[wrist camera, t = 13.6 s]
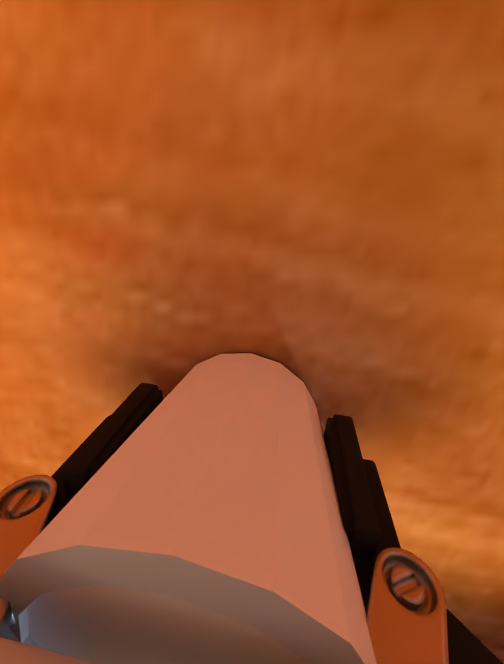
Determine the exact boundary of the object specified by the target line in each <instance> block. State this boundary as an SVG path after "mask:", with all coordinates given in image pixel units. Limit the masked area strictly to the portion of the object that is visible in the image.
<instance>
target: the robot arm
mask: <svg viewBox="0 0 504 664" xmlns="http://www.w3.org/2000/svg"><path fill="white" fill-rule="evenodd" d="M162 401H163V393H162V390H159V388H158V386H157V385H153V384H147V383H141V384H139V386H138V387H137V388H136V389H135V390H134V391H133V392H132V393H131V394H130V395H129V396H128V397H127V399H126V400H125V401H124V402H123V403H122V404H121V405H120V406H119V407H118V408H117V409H116V410H115V412H114V413H113V414H112V415H110V416H108V417H107V418H106V419H105V420H104V421H103V422H102V423H101V424H100V425H99V426H98V427H97V428H96V429H95V430H94V431H93V432H92V434H91V435H90V436H89V437H88V438H87V439H86V440H85V441H84V442H83V443H82V444H81V445H80V446H79V447H78V449H77V450H76V451H75V452H74V453H73V454H72V455H71V456H70V457H69V458H68V459H67V460H66V461H65V462H64V463H63V465H62V466H61V467H60V468H59V469H58V470H57V471H56V472H55V473H54V474H53V475H52V476H51V477H50V476H47V475H33V476H29V477H25V478H23V479H20V480H18V481H16V482H14V483H12V484H11V485H9V486H7V487H6V488H5V489H4V490H2V491H1V492H0V578H1V577H2V576H3V575H4V573H5V572H6V571H7V570H8V569H9V567H10V566H11V565H12V564H13V563H14V561H15V560H16V559H17V558H18V557H19V556H20V555H21V554H22V553H23V551H24V550H25V549H26V548H27V547H28V546H29V545H30V544H31V543H32V542H33V541H34V540H35V538H36V537H37V536H38V535H39V534H40V533H41V532H42V531H43V530H44V529H45V528H46V527H47V525H48V524H49V523H50V522H51V521H52V520H53V519H54V518H55V517H56V516H57V515H58V514H59V512H60V511H61V510H62V509H63V508H64V507H65V506H66V505H67V504H68V503H69V502H70V501H71V499H72V498H73V497H74V496H75V495H76V494H77V493H78V492H79V491H80V490H81V489H82V488H83V486H84V485H85V484H86V483H87V482H88V481H89V480H90V479H91V478H92V477H93V476H94V475H95V473H96V472H97V471H98V470H99V469H100V468H101V467H102V466H103V465H104V464H105V463H106V462H107V460H108V459H109V458H110V457H111V456H112V455H113V454H114V453H115V452H116V451H117V450H118V449H119V447H120V446H121V445H122V444H123V443H124V442H125V441H126V440H127V439H128V438H129V437H130V436H131V434H132V433H133V432H134V431H135V430H136V429H137V428H138V427H139V426H140V425H141V424H142V423H143V421H144V420H145V419H146V418H147V417H148V416H149V415H150V414H151V413H152V412H153V411H154V410H155V408H156V407H157V406H158V405H159V404H160V403H161V402H162ZM323 437H324V441H325V445H326V449H327V453H328V457H329V462H330V466H331V470H332V474H333V478H334V482H335V487H336V492H337V497H338V502H339V507H340V512H341V517H342V522H343V528H344V530H345V532H346V534H347V537H348V541H349V545H350V549H351V553H352V558H353V562H354V566H355V570H356V574H357V578H358V583H359V587H360V591H361V595H362V599H363V603H364V608H365V612H366V622H367V626H368V630H369V635H370V639H371V643H372V647H373V651H374V655H375V659H376V663H377V664H503V663H502V662H501V661H500V660H499V659H498V658H497V657H496V656H495V655H494V654H493V653H492V652H491V651H490V650H489V649H488V648H486V647H485V646H484V645H483V644H482V643H481V642H480V641H479V640H478V639H477V638H476V637H475V636H474V635H473V634H472V633H471V632H470V631H469V630H468V629H467V628H466V627H465V626H464V625H463V624H462V623H461V622H460V621H459V620H458V619H457V618H456V617H455V616H454V615H453V614H452V613H451V612H450V611H449V610H448V609H447V608H446V601H445V596H444V591H443V589H442V587H441V585H440V583H439V580H438V579H437V577H436V576H435V574H434V573H433V572H432V570H431V569H430V568H429V567H428V566H427V565H426V564H425V563H424V562H423V561H422V560H421V559H420V558H418V557H417V556H415V555H414V554H412V553H411V552H409V551H406V550H404V549H401V547H400V544H399V541H398V537H397V534H396V531H395V527H394V524H393V521H392V517H391V514H390V511H389V508H388V504H387V501H386V498H385V494H384V491H383V488H382V484H381V481H380V478H379V474H378V471H377V468H376V465H375V463H374V462H373V461H371V460H365V459H362V455H361V451H360V447H359V443H358V439H357V435H356V431H355V427H354V423H353V420H352V417H349V416H343V415H337V414H335V415H334V416H333V418H328V419H327V423H326V427H325V431H324V436H323ZM15 621H16V620H15V617H14V615H13V612H12V609H11V606H10V601H8V600H6V599H5V598H3V597H2V596H0V664H98V663H94V662H91V661H87V660H84V659H80V658H76V657H72V656H69V655H65V654H61V653H58V652H54V651H50V650H47V649H43V648H39V647H35V646H32V645H28V644H24V643H21V642H19V641H18V639H17V637H16V635H15V633H14V631H13V629H12V627H11V625H12V624H15Z"/></svg>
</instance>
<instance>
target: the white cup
mask: <svg viewBox="0 0 504 664" xmlns="http://www.w3.org/2000/svg"><path fill="white" fill-rule="evenodd" d="M0 596H2V597H3V598H5V599H6V600H8V601H10V606H11V609H12V612H13V615H14V617H15V620H16V621H15V624H12V625H11V627H12V629H13V631H14V633H15V635H16V637H17V639H18V641H19V642H21V643H24V644H28V645H32V646H35V647H39V648H43V649H47V650H50V651H54V652H58V653H61V654H65V655H69V656H72V657H76V658H80V659H84V660H87V661H91V662H94V663H98V664H377V663H376V659H375V655H374V651H373V647H372V643H371V639H370V635H369V630H368V626H367V622H366V612H365V608H364V603H363V599H362V595H361V591H360V587H359V583H358V578H357V574H356V570H355V566H354V562H353V558H352V553H351V549H350V545H349V541H348V537H347V534H346V532H345V530H344V528H343V522H342V517H341V512H340V507H339V502H338V497H337V492H336V487H335V482H334V478H333V474H332V470H331V466H330V462H329V457H328V453H327V449H326V445H325V441H324V437H323V432H322V428H321V424H320V420H319V416H318V412H317V407H316V405H315V403H314V401H313V399H312V397H311V395H310V393H309V391H308V389H307V388H306V386H305V384H304V382H303V381H302V380H300V379H299V378H298V377H297V376H295V375H294V374H293V373H292V372H291V371H289V370H288V369H287V368H286V367H284V366H283V365H282V364H281V363H278V362H275V361H272V360H269V359H266V358H264V357H261V356H258V355H255V354H252V353H237V354H219V355H217V356H215V357H212V358H210V359H208V360H205V361H203V362H201V363H198V364H196V365H195V366H194V367H193V368H192V370H191V371H190V372H189V373H188V374H187V375H186V376H185V377H184V378H183V379H182V380H181V381H180V383H179V384H178V385H177V386H176V387H175V388H174V389H173V390H172V391H171V392H170V393H169V394H168V395H167V397H166V398H165V399H164V400H163V401H162V402H161V403H160V404H159V405H158V406H157V407H156V408H155V410H154V411H153V412H152V413H151V414H150V415H149V416H148V417H147V418H146V419H145V420H144V421H143V423H142V424H141V425H140V426H139V427H138V428H137V429H136V430H135V431H134V432H133V433H132V434H131V436H130V437H129V438H128V439H127V440H126V441H125V442H124V443H123V444H122V445H121V446H120V447H119V449H118V450H117V451H116V452H115V453H114V454H113V455H112V456H111V457H110V458H109V459H108V460H107V462H106V463H105V464H104V465H103V466H102V467H101V468H100V469H99V470H98V471H97V472H96V473H95V475H94V476H93V477H92V478H91V479H90V480H89V481H88V482H87V483H86V484H85V485H84V486H83V488H82V489H81V490H80V491H79V492H78V493H77V494H76V495H75V496H74V497H73V498H72V499H71V501H70V502H69V503H68V504H67V505H66V506H65V507H64V508H63V509H62V510H61V511H60V512H59V514H58V515H57V516H56V517H55V518H54V519H53V520H52V521H51V522H50V523H49V524H48V525H47V527H46V528H45V529H44V530H43V531H42V532H41V533H40V534H39V535H38V536H37V537H36V538H35V540H34V541H33V542H32V543H31V544H30V545H29V546H28V547H27V548H26V549H25V550H24V551H23V553H22V554H21V555H20V556H19V557H18V558H17V559H16V560H15V561H14V563H13V564H12V565H11V566H10V567H9V569H8V570H7V571H6V572H5V573H4V575H3V576H2V577H1V578H0Z"/></svg>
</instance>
